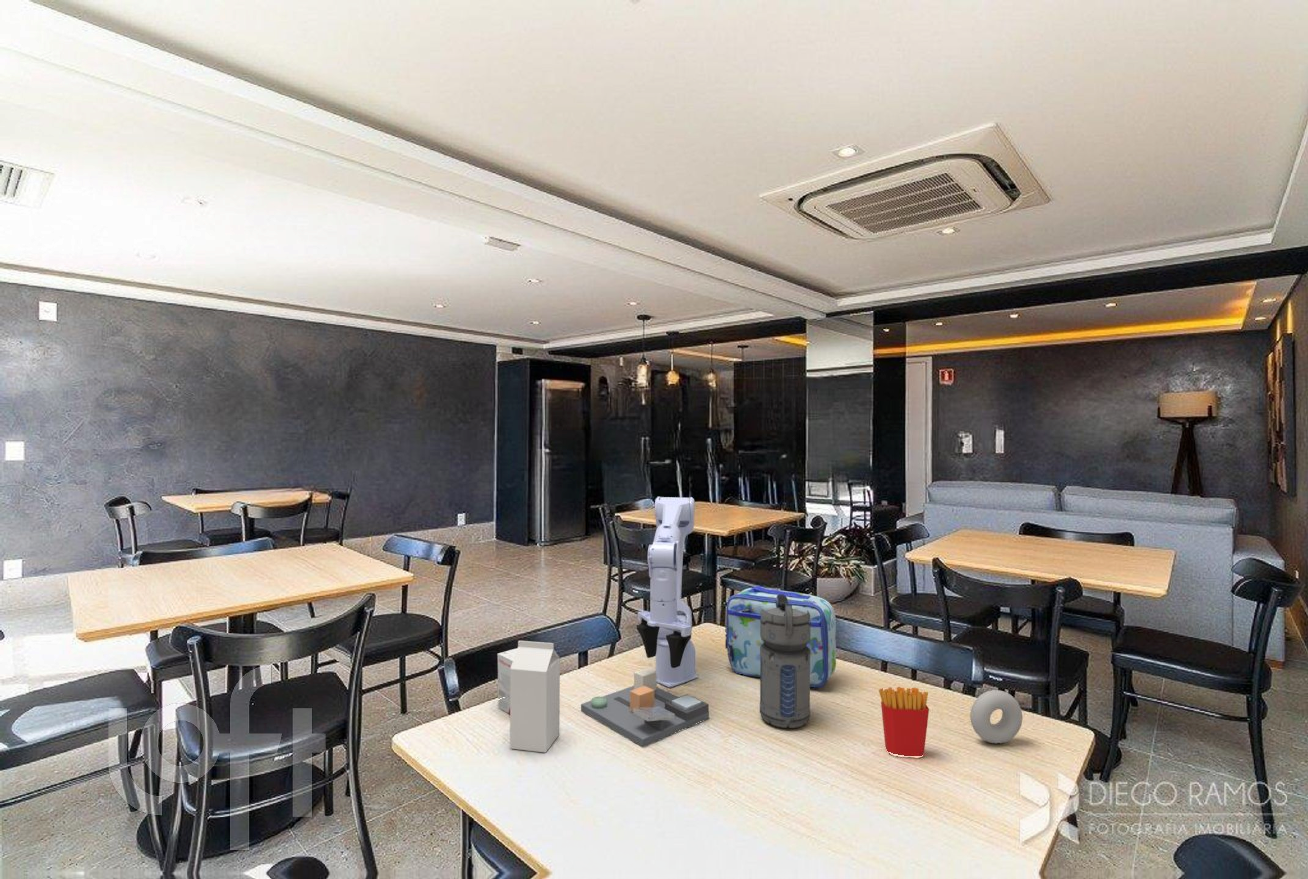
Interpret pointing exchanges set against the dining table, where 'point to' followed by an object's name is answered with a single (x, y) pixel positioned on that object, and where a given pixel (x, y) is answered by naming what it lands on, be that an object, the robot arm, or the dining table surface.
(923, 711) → the french fries
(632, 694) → the terracotta slider
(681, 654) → the robot arm
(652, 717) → the aluminium rocker
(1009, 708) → the donut
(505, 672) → the ink box
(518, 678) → the milk carton
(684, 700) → the grey button
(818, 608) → the lunch box
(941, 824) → the dining table surface
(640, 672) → the ivory slider
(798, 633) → the beverage bottle
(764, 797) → the dining table surface
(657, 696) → the control board
